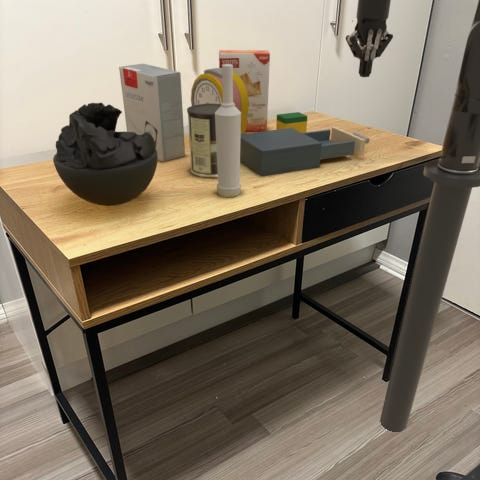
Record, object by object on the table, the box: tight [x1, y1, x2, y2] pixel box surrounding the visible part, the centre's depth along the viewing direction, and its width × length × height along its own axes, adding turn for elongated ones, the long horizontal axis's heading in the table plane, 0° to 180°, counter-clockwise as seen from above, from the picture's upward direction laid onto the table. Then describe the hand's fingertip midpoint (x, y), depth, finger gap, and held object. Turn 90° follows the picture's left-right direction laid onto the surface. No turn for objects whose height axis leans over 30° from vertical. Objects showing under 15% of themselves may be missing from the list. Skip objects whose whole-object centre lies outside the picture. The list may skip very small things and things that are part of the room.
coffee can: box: [186, 104, 221, 178], centre depth 117 cm, size 10×10×14 cm
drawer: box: [303, 126, 371, 161], centre depth 130 cm, size 19×14×4 cm
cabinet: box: [240, 128, 322, 177], centre depth 125 cm, size 16×15×6 cm
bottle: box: [215, 64, 242, 198], centre depth 102 cm, size 5×5×25 cm
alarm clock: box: [190, 67, 249, 134], centre depth 136 cm, size 15×8×18 cm, turn 42°
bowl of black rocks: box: [52, 102, 158, 207], centre depth 100 cm, size 20×20×19 cm
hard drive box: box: [118, 63, 186, 163], centre depth 127 cm, size 16×8×20 cm, turn 44°
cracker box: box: [218, 49, 271, 132], centre depth 145 cm, size 14×6×21 cm, turn 92°
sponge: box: [275, 111, 308, 133], centre depth 143 cm, size 7×5×6 cm
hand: (364, 76), depth 129 cm, fingers closed
